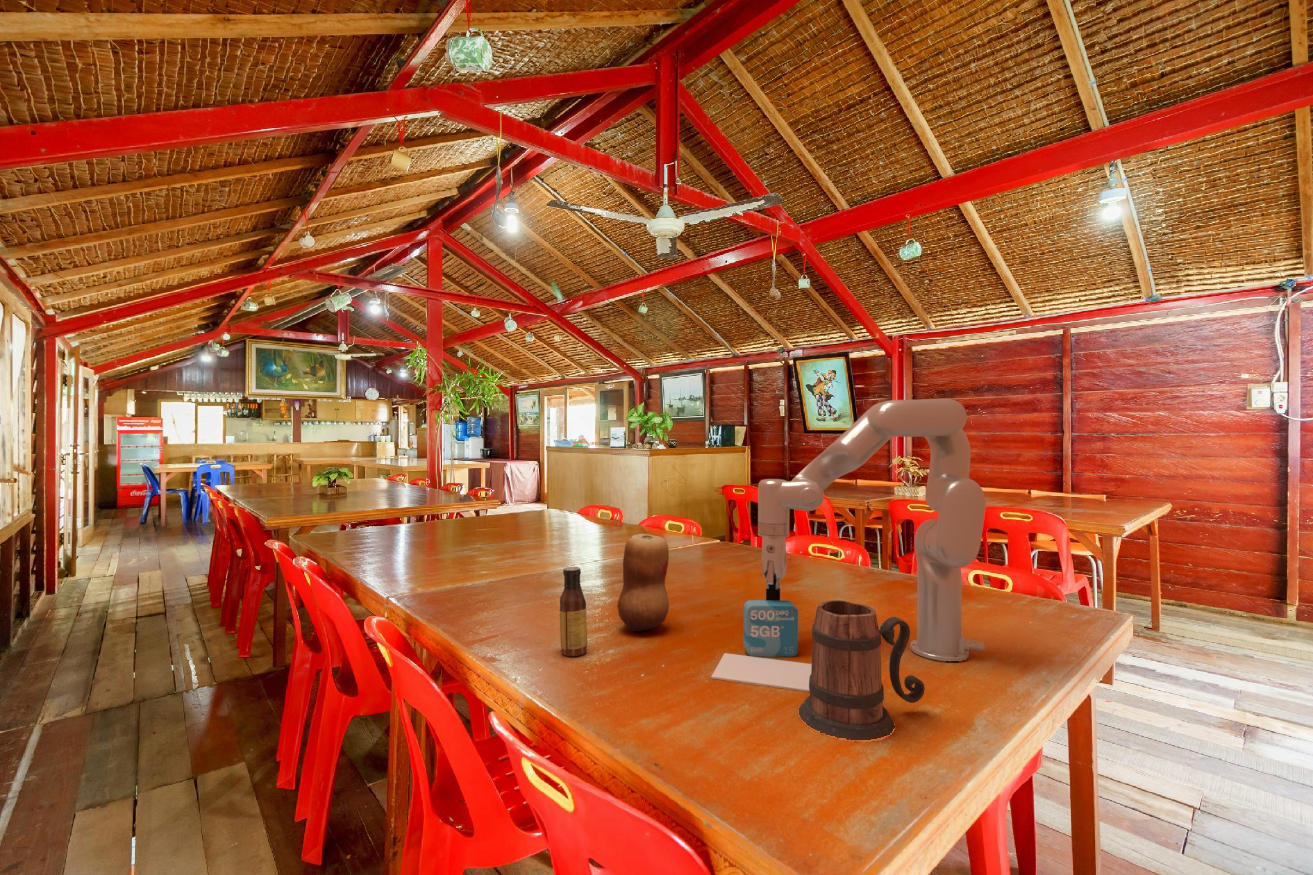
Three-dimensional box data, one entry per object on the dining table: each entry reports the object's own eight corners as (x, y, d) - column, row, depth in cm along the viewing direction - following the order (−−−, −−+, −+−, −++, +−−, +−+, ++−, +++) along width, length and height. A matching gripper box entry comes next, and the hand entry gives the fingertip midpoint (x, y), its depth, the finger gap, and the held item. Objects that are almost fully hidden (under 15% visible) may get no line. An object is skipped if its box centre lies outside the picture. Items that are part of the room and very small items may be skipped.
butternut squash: (663, 640, 143) (663, 540, 143) (611, 636, 145) (612, 538, 145) (672, 623, 156) (673, 532, 156) (625, 619, 159) (626, 530, 159)
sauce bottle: (592, 650, 135) (592, 566, 135) (577, 659, 130) (578, 572, 130) (569, 646, 138) (569, 564, 138) (553, 654, 132) (554, 569, 133)
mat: (813, 666, 127) (813, 664, 127) (809, 692, 114) (809, 690, 114) (724, 654, 133) (724, 653, 133) (711, 678, 120) (711, 676, 120)
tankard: (822, 746, 94) (822, 624, 94) (783, 700, 110) (784, 596, 110) (951, 735, 97) (952, 618, 97) (895, 692, 114) (895, 592, 114)
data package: (746, 657, 132) (746, 605, 132) (743, 650, 136) (743, 599, 137) (798, 657, 132) (798, 605, 132) (793, 650, 137) (793, 600, 137)
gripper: (785, 535, 131) (785, 615, 131) (792, 526, 145) (791, 598, 145) (753, 533, 134) (752, 611, 133) (762, 524, 148) (762, 595, 148)
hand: (773, 604), depth 139 cm, fingers closed
